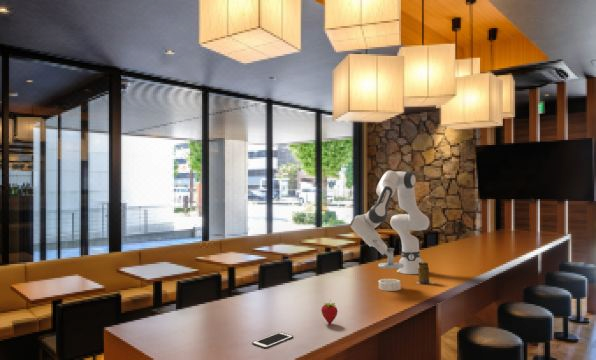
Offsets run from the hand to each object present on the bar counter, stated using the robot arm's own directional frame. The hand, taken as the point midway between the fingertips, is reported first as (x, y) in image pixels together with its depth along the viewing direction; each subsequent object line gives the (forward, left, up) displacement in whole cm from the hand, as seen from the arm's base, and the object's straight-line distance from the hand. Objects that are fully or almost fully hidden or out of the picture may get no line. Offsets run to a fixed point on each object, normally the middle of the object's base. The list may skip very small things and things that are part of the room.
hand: (391, 256), depth 224 cm
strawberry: (+66, -26, -18) cm, 73 cm away
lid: (0, -1, -5) cm, 5 cm away
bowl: (0, -2, -18) cm, 18 cm away
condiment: (-15, +19, -18) cm, 30 cm away
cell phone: (+88, -44, -18) cm, 100 cm away
